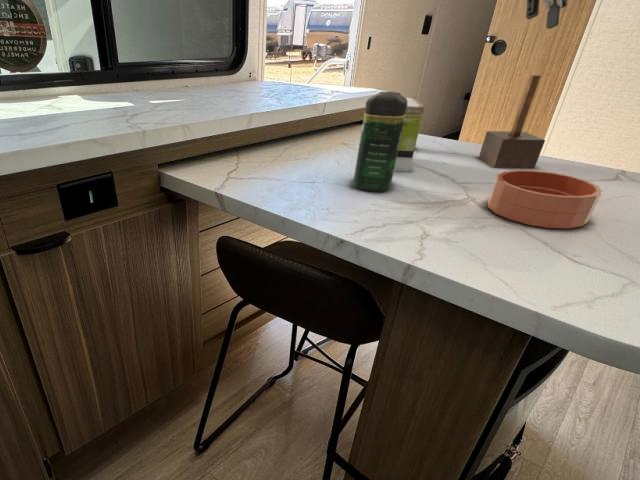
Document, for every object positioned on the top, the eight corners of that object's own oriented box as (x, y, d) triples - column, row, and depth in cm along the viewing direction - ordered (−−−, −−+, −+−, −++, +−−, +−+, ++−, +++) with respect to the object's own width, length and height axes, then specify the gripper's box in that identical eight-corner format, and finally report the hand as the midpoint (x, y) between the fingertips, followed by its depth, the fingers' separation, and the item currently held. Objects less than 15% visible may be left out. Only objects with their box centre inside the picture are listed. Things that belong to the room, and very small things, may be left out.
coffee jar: (388, 196, 85) (409, 96, 75) (349, 191, 88) (364, 94, 77) (392, 182, 93) (411, 90, 82) (356, 178, 95) (370, 88, 85)
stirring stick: (506, 163, 106) (537, 74, 95) (509, 165, 104) (541, 75, 93) (500, 163, 106) (530, 74, 95) (502, 165, 104) (533, 75, 93)
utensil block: (515, 159, 109) (525, 131, 105) (533, 170, 101) (545, 140, 97) (477, 159, 109) (486, 131, 106) (493, 169, 101) (503, 139, 98)
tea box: (410, 173, 98) (426, 105, 90) (367, 171, 100) (378, 104, 92) (402, 157, 111) (415, 96, 103) (364, 155, 112) (374, 95, 104)
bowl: (554, 201, 83) (567, 171, 79) (606, 233, 70) (624, 198, 66) (473, 199, 84) (483, 169, 80) (509, 230, 71) (522, 196, 67)
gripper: (551, -80, 85) (543, 5, 87) (585, -56, 92) (577, 22, 94) (513, -57, 92) (507, 22, 94) (547, -36, 98) (540, 37, 100)
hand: (542, 22), depth 94 cm, fingers open, 8 cm apart
